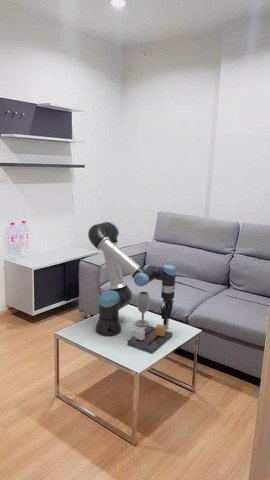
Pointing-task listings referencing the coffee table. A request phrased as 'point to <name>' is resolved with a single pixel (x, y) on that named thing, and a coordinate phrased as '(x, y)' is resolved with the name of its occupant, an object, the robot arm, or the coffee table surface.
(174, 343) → the coffee table surface
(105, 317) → the robot arm
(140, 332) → the fader
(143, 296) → the wineglass
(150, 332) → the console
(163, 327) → the block
